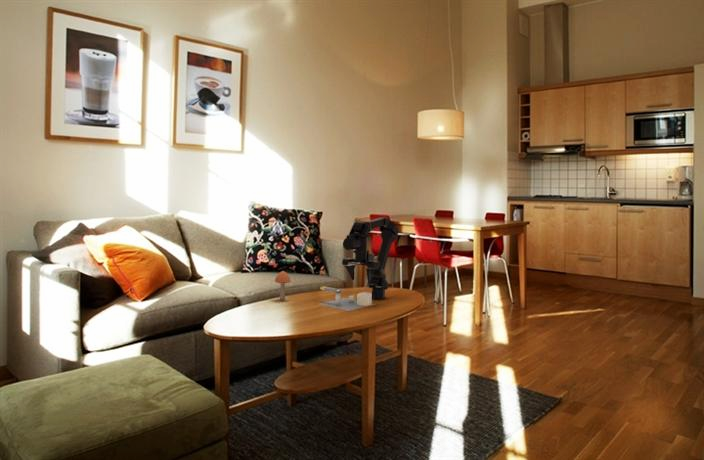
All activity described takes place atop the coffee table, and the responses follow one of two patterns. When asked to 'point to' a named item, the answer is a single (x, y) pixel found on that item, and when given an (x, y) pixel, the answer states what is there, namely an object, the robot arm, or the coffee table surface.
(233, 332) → the coffee table surface
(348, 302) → the board
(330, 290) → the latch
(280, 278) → the mushroom
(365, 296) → the beige cube
